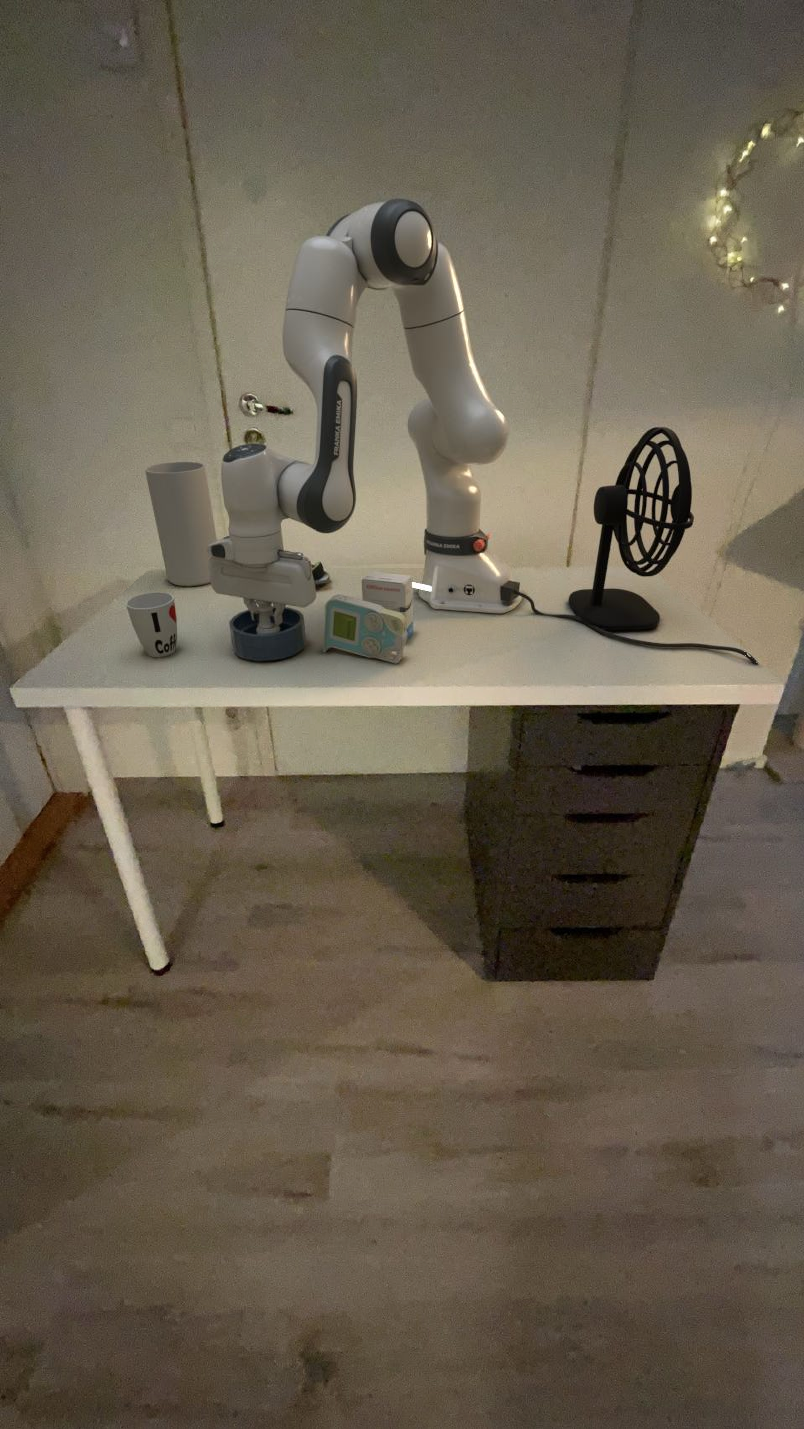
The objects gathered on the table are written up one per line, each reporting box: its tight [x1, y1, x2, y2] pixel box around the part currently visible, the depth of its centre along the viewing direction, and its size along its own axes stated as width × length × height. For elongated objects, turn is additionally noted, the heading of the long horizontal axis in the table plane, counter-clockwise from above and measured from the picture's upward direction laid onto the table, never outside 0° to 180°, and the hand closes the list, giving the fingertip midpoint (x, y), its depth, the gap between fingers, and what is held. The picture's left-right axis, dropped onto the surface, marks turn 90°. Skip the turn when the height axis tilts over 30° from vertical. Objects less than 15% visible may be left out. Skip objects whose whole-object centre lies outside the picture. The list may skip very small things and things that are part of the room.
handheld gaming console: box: [322, 594, 408, 664], centre depth 116 cm, size 11×3×15 cm
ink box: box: [361, 571, 414, 641], centre depth 123 cm, size 8×5×12 cm, turn 71°
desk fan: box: [568, 426, 695, 631], centre depth 124 cm, size 27×18×35 cm, turn 3°
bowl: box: [228, 605, 307, 662], centre depth 120 cm, size 13×13×6 cm
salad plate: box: [311, 561, 332, 590], centre depth 149 cm, size 19×18×5 cm
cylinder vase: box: [144, 461, 218, 587], centre depth 148 cm, size 12×12×25 cm
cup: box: [125, 591, 178, 658], centre depth 118 cm, size 8×8×10 cm
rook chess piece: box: [255, 600, 280, 634], centre depth 119 cm, size 4×4×8 cm
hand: (267, 621), depth 119 cm, fingers closed on rook chess piece, 3 cm apart
